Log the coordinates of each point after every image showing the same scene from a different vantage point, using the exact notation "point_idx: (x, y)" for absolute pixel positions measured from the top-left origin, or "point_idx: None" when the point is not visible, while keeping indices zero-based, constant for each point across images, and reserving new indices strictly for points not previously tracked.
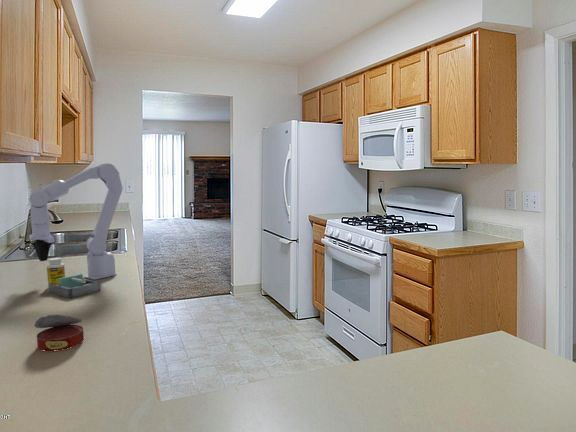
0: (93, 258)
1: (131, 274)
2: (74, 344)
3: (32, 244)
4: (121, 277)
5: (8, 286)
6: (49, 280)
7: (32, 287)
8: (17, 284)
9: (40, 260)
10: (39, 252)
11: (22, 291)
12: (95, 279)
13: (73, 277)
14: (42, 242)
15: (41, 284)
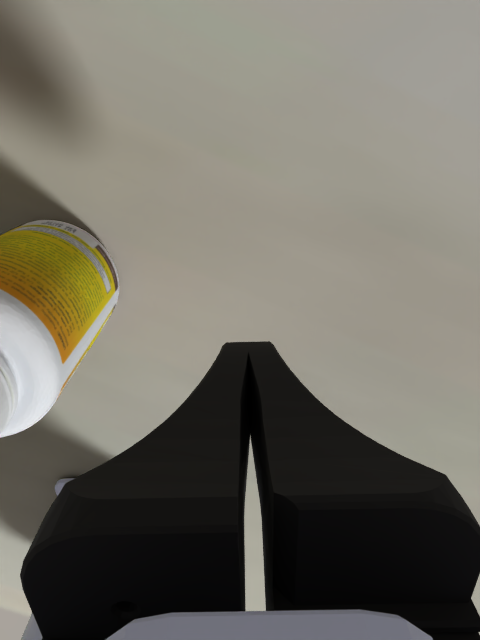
0: (31, 633)
1: None
2: None
3: (401, 475)
4: (11, 564)
5: (455, 28)
6: (5, 236)
7: (209, 153)
8: (445, 121)
9: (243, 343)
10: (196, 400)
11: (131, 24)
12: (56, 483)
13: None
14: (43, 631)
15: (248, 243)
